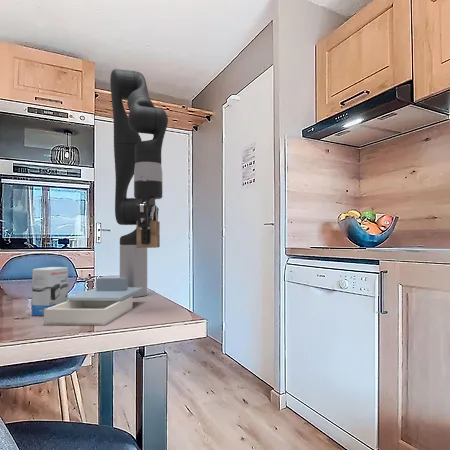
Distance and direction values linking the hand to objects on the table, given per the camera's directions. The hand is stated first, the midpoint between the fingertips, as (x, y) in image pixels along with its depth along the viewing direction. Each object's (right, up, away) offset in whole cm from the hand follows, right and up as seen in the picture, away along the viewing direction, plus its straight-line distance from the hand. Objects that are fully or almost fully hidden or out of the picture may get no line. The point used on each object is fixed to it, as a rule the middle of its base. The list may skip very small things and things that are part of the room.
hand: (148, 243), depth 100 cm
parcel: (0, -1, 0) cm, 1 cm away
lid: (-12, -14, +3) cm, 19 cm away
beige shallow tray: (-12, -18, -7) cm, 23 cm away
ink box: (-25, -18, -3) cm, 31 cm away
